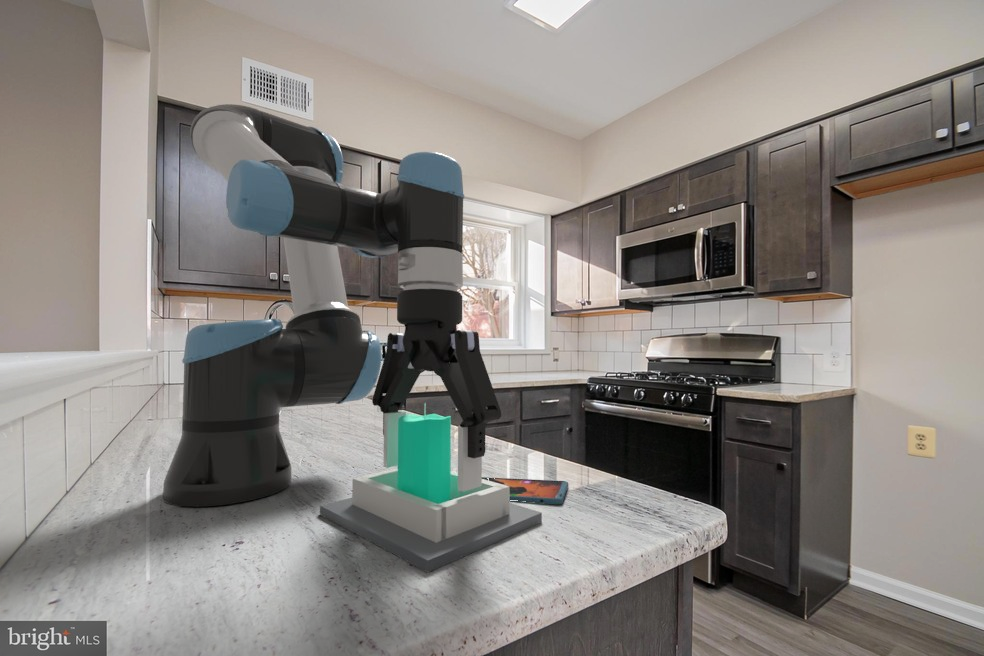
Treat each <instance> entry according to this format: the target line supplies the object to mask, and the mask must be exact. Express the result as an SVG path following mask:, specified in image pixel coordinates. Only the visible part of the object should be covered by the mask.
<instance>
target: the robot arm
mask: <svg viewBox="0 0 984 656" xmlns="http://www.w3.org/2000/svg"><path fill="white" fill-rule="evenodd" d="M189 129H190V131H189V137H190V144H191V146H192V148H193V150H194V152H195V153H196V155H197V156H198V158H199V159H200V160H201V162H203V164H205V165H206V166H207V167H208V168H209V169H212V170H213V171H215V172H218V173H219V174H221V176H223V178H224V180H226V182H227V187H226V194H225V195H226V196H225V197H226V199H225V204H226V205H225V206H226V210H227V216H228V219H229V221H230V223H232V224H231V225H234V227H235V228H238V229H240V230H244V231H245V230H246V231H249V232H254V233H258V234H260V235H261V236H264V237H265V236H267V237H279V238H283V243H284V244H283V245H284V250H285V251H284V252H285V259H286V265H287V274H288V279H289V280H288V281H289V287H290V294H291V295H290V296H291V304H292V310H293V315H292V316H291V317H290V318H289V319H288V320H287V322H286V324H285V328H284V325H283V323H282V321H281V319H280V318H264V319H252V320H251V319H250V320H240V321H239V320H237V321H229V322H227V321H226V322H217V323H207V324H206V323H205V324H199V325H196V326H194V327H193V328H190V330H189V331H188V332H187V334H186V339H185V344H184V345H185V346H184V353H183V358H182V364H184V365H183V388H182V389H183V390H182V391H183V392H182V393H183V394H182V397H183V398H182V415H181V416H182V418H181V419H182V422H181V425H182V426H181V428H182V429H181V437H180V440H179V442H178V445H177V447H176V450H175V452H174V455H173V457H172V459H171V462H170V465H169V468H168V470H167V473H166V475H165V478H164V480H163V493H162V494H163V495H162V499H163V500H164V501H163V502H165V503H167V504H170V505H174V506H178V507H179V506H180V507H193V508H194V507H198V508H199V507H215V506H223V505H233V504H238V503H239V504H240V503H244V502H248V501H253V500H254V501H255V500H257V499H261V498H265V497H268V496H271V495H273V494H276V493H279V492H282V491H283V490H285V489H286V488H288V487H289V486H290V485H291V484H292V465H291V462H290V458H289V456H288V455H289V454H288V452H287V450H286V449H287V448H286V446H285V443H284V440H283V438H282V434H281V431H280V411H281V408H288V407H290V408H292V407H304V406H314V405H315V406H316V405H327V404H336V405H343V403H349V402H355V401H360V400H363V399H364V398H366V397H367V396H368V395H369V394H370V393H371V392H372V391H373V389H374V387H375V386H376V387H375V389H374V393H373V395H372V399H371V402H372V405H373V406H378V407H379V410H380V412H382V419H383V420H382V422H383V423H382V434H383V468H385V469H386V468H392V467H398V419H399V418H400V417H401V416H404V415H407V413H406V412H407V411H405V410H406V406H405V405H404V404H405V403H406V401H407V399H408V397H409V395H410V393H411V391H412V390H413V387H414V386H415V384H416V382H417V380H418V379H419V377H420V375H421V374H422V373H423V372H425V371H426V372H433V373H434V374H435V375H436V376H438V377H439V378H440V379H441V381H442V382H443V385H444V386H445V389H446V391H447V392H448V394H449V396H450V398H451V400H452V402H453V404H454V406H455V407H456V410H457V412H458V414H459V415H460V418H461V419H462V422H461V423H460V424H459V425H458V426H457V472H458V490H459V491H462V492H464V491H467V490H470V489H473V488H477V487H480V486H482V477H483V476H482V473H483V471H482V469H483V467H482V463H483V459H482V457H484V456H485V453H486V427H487V424H488V423H490V422H494V421H496V420H500V419H501V417H502V411H501V407H500V405H499V402H498V399H497V396H496V394H495V393H496V392H495V391H494V388H493V384H492V382H491V379H490V376H489V372H488V370H487V368H486V364H485V362H484V358H483V355H482V353H481V349H480V335H479V332H478V331H476V330H466V329H464V330H462V329H461V330H459V329H458V327H457V325H460V324H461V323H462V322H463V294H461V292H459V291H458V290H460V289H462V288H463V287H464V280H463V279H464V278H463V277H464V276H463V275H464V270H463V268H464V266H463V259H464V258H463V257H464V256H463V243H464V242H463V241H464V239H463V238H464V237H463V232H464V222H463V221H464V199H465V194H464V185H463V182H464V181H463V171H462V167H461V165H460V163H458V161H457V160H455V159H454V158H452V157H451V156H448V155H445V154H443V153H439V152H433V151H419V152H414V153H409V154H407V155H406V156H404V157H403V158H402V159H400V160H401V161H400V162H399V165H398V175H397V176H396V180H397V184H398V185H397V186H396V187H393V188H392V189H390V190H388V191H385V192H383V193H378V192H374V191H370V190H367V189H362V188H359V187H356V186H351V185H348V184H344V183H342V181H343V175H344V172H343V168H344V157H343V153H342V150H341V147H340V145H339V142H337V140H336V139H335V138H334V136H332V135H330V134H329V133H326V132H323V131H321V130H320V129H318V128H317V127H314V126H306V125H305V124H301V123H299V122H294V121H292V120H289V119H286V118H283V117H281V116H277V115H274V114H271V113H268V112H265V111H263V110H259V109H257V108H255V107H251V106H246V105H242V104H229V103H228V104H217V105H213V106H210V107H207V108H205V109H203V110H202V111H200V112H199V113H198V114H197V115H196V116H195V117H194V119H193V120H192V123H191V126H190V128H189ZM339 247H341V248H347V249H350V250H352V251H354V252H355V253H356V254H358V255H359V256H361V257H364V258H370V259H371V258H372V259H373V258H385V257H387V256H392V255H394V254H395V253H397V254H398V258H397V261H398V262H397V264H398V266H397V286H398V287H399V288H401V289H403V290H400V291H399V292H398V293H397V295H396V296H397V297H396V307H397V308H396V320H397V322H398V323H399V324H401V325H404V328H405V329H404V333H401V332H398V333H397V332H389V333H388V334H387V342H386V350H385V351H386V352H385V355H384V358H383V362H382V347H381V343H380V339H379V338H378V336H377V335H376V334H375V333H374V332H372V331H370V330H363V328H362V324H361V318H360V315H359V314H358V313H357V312H356V311H355V310H352V309H351V308H349V304H348V300H347V299H348V298H347V293H346V292H347V291H346V287H345V282H344V281H345V280H344V276H343V271H342V266H341V260H340V254H339ZM384 394H385V395H384Z"/></svg>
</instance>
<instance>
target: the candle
mask: <svg viewBox="0 0 984 656" xmlns="http://www.w3.org/2000/svg"><path fill="white" fill-rule="evenodd" d="M423 407H424V415H419V414H412V413H411V414H410V413H407V414H406V415H404V416H401V417H400V418H399V419H398V465H397V468H398V490H401V491H403V492H406V493H409V494H412V495H414V496H417V497H420V498H423V499H425V500H428V501H431V502H434V503H436V504H440V503H443V502H447V501H450V485H451V470H452V469H451V467H452V466H451V465H452V464H451V463H452V462H451V460H452V455H451V453H452V449H451V448H452V444H451V443H452V436H451V435H452V416H451V415H448V416H442V415H439V414H438V413H431V414H427V409H426V408H427V404H426V402H425V403H424V406H423Z"/></svg>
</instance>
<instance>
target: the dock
mask: <svg viewBox="0 0 984 656" xmlns="http://www.w3.org/2000/svg"><path fill="white" fill-rule="evenodd" d="M351 491H352V496H351V497H348V498H344V499H341V500H337V501H332V502H329V503H325V504H322V505H321V504H320V505H319V515H320V516H322V517H324V518H326V519H328V520H330V521H332V522H333V523H336V524H337V525H339V526H341V527H343V528H345V529H346V530H348V531H350V532H352V533H353V534H355V535H358V536H360V537H362V538H363V539H364V540H367V541H369V542H370V543H372V544H375V545H376V546H378V547H379V548H381V549H383V550H385V551H387V552H389V553H391V554H393V555H395V556H396V557H398V558H400V559H403V560H404V561H406V562H407V563H409V564H411V565H414V566H415V567H417V568H419V569H421V570H422V571H424V572H426V573H430V572H432V571H434V570H437V569H438V568H441V567H443V566H445V565H448V564H450V563H452V562H455V561H457V560H459V559H461V558H464V557H466V556H468V555H470V554H473V553H475V552H477V551H480V550H481V549H484V548H486V547H488V546H490V545H493V544H495V543H497V542H500V541H502V540H504V539H506V538H508V537H511V536H513V535H515V534H517V533H519V532H522V531H525V530H526V529H529V528H531V527H534V526H535V525H537V524H540V523H542V521H543V517H542V512H541V511H537V510H535V509H534V510H533V509H532V508H528V507H526V506H525V507H524V506H521V505H519V504H515V503H512V502H511V501H510V486H506V485H502V484H499V483H495V482H492V481H488V480H484V479H482V486H480V487H477V488H473V489H470V490H467V491H464V492H462V491H459V490H458V471H455V470H452V469H451V485H450V501H447V502H443V503H440V504H436V503H434V502H431V501H428V500H425V499H423V498H420V497H417V496H414V495H412V494H409V493H406V492H403V491H401V490H398V467H397V468H393V469H388V470H384V471H380V472H375V473H370V474H366V475H363V476H359V477H358V476H357V477H353V478H352V489H351Z"/></svg>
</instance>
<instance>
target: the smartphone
mask: <svg viewBox="0 0 984 656" xmlns="http://www.w3.org/2000/svg"><path fill="white" fill-rule="evenodd" d="M487 478H489V481H492V482H495V483H499V484H502V485H506V486H510V500H518V501H526V502H525V503H527V502H535V503H534V504H539V503H544V504H543V505H555V506H557V505H562V504H563V501H564V500H565V496H566V494H567V492H568V491H567V490H568V488H569V482H568V481H565V480H548V479H547V480H546V479H527V478H526V479H525V478H506V477H505V478H504V477H485V476H482V479H484V480H488V479H487ZM494 478H495V479H494Z"/></svg>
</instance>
